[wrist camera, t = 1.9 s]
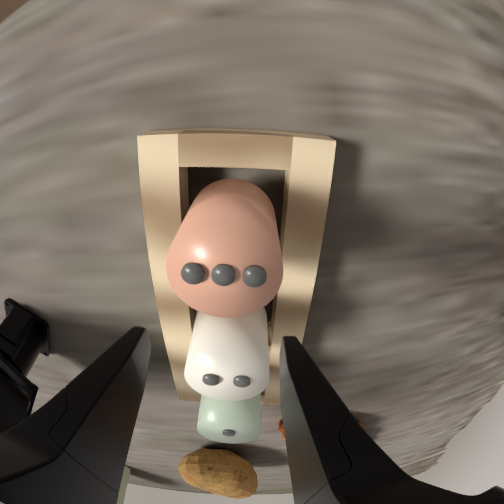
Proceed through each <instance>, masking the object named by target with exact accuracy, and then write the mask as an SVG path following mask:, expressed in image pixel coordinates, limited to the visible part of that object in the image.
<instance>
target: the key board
mask: <svg viewBox="0 0 504 504" xmlns="http://www.w3.org/2000/svg"><path fill="white" fill-rule="evenodd" d="M137 142H138V159H139V173H140V186H141V196H142V206H143V215H144V224H145V232H146V240H147V247H148V254H149V261H150V267H151V273H152V279H153V285H154V291H155V296H156V302H157V307H158V312H159V317H160V322H161V327H162V332H163V336H164V341H165V345H166V350H167V354H168V358H169V362H170V366H171V371H172V374H173V378H174V382H175V386H176V390H177V393H178V397H179V400H186V401H196V402H200V401H201V394H200V393H198V392H197V391H195V390H194V389H193V388H192V387H191V386H190V385H189V384H188V383H187V381H186V379H185V377H184V370H185V365H186V360H187V355H188V351H189V346H190V341H191V337H192V332H193V328H194V323H195V319H196V314H197V313H196V310H195V309H193V308H191V307H190V306H188V305H187V304H186V303H184V302H183V301H182V300H181V299H180V298H179V297H178V296H177V294H176V293H175V292H174V290H173V289H172V287H171V285H170V283H169V280H168V278H167V273H166V257H167V253H168V250H169V248H170V246H171V244H172V242H173V240H174V238H175V236H176V234H177V232H178V230H179V228H180V226H181V224H182V222H183V220H184V218H185V216H186V214H187V212H188V210H189V193H188V167H232V168H259V169H277V170H285V182H284V193H283V205H282V216H281V227H280V238H279V242H280V249H281V256H282V262H283V279H282V283H281V286H280V289H279V290H278V292H277V294H276V295H275V297H274V298H273V306H272V315H271V323H270V325H267V329H268V353H269V384H268V386H267V388H266V389H265V390H264V391H263V392H261V405H281V403H280V367H279V356H280V348H281V342H282V337H283V336H296V337H297V339H298V340H299V341H300V343H301V344H302V341H303V337H304V332H305V328H306V323H307V319H308V314H309V309H310V304H311V299H312V294H313V289H314V284H315V279H316V274H317V268H318V263H319V257H320V252H321V246H322V240H323V234H324V228H325V222H326V215H327V209H328V202H329V195H330V188H331V181H332V173H333V165H334V157H335V149H336V141H335V140H334V139H332V138H330V137H329V136H327V135H321V134H311V133H300V132H288V131H274V130H256V129H218V128H201V129H164V130H150V131H148V132H145V133H143V134H140V135H138V136H137Z"/></svg>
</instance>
